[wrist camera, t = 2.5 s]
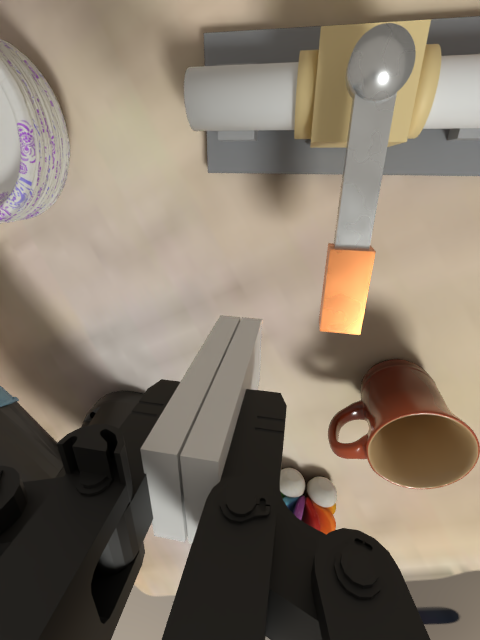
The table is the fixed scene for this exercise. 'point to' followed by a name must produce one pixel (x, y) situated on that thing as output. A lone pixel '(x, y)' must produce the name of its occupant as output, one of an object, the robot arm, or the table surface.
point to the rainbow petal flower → (309, 499)
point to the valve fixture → (334, 100)
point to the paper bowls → (29, 139)
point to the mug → (407, 429)
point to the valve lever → (363, 171)
